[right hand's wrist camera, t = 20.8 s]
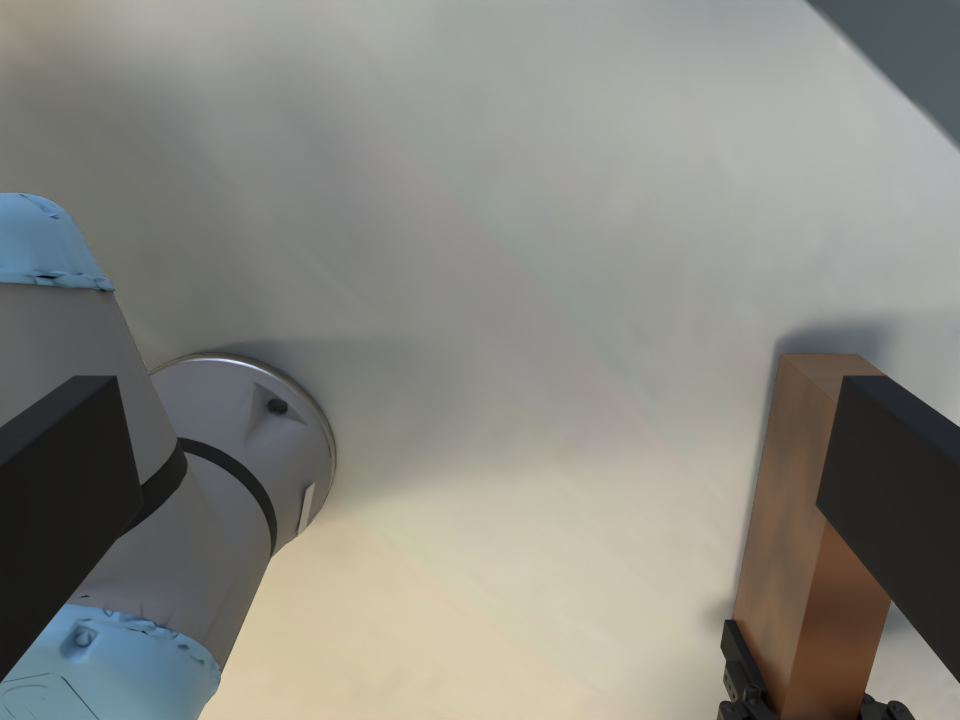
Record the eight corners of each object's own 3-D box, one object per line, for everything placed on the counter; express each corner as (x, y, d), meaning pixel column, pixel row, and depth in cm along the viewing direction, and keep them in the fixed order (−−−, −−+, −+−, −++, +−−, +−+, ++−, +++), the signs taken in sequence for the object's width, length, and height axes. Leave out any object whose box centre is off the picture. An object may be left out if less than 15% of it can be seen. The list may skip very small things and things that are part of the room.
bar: (788, 657, 54) (844, 762, 45) (725, 657, 54) (770, 762, 45) (856, 353, 44) (944, 416, 36) (779, 353, 44) (850, 416, 36)
